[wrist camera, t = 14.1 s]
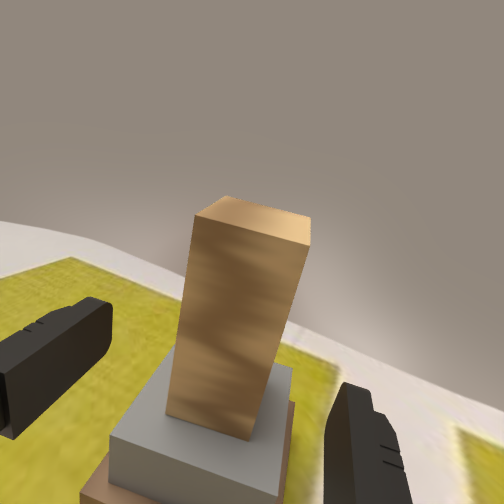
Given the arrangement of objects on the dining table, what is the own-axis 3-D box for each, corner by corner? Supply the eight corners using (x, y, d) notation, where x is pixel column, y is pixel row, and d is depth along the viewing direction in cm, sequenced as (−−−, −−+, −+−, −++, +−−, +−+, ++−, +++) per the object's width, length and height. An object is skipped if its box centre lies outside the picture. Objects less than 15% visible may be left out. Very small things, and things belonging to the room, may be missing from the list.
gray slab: (280, 405, 24) (292, 368, 23) (260, 542, 16) (277, 496, 14) (177, 371, 25) (182, 333, 24) (108, 482, 17) (109, 434, 16)
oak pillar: (262, 377, 21) (310, 217, 17) (248, 442, 17) (309, 245, 12) (196, 356, 22) (226, 195, 17) (164, 413, 17) (195, 214, 13)
